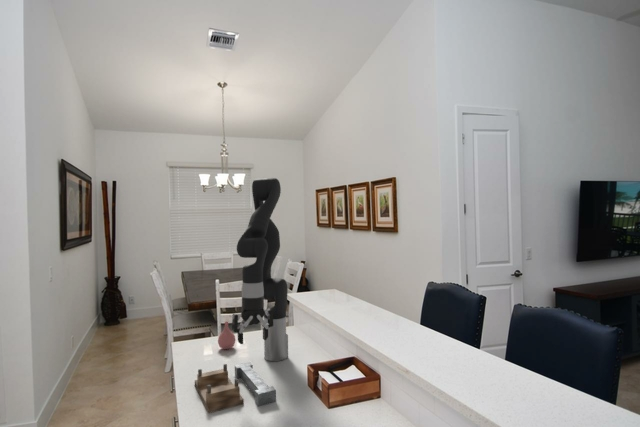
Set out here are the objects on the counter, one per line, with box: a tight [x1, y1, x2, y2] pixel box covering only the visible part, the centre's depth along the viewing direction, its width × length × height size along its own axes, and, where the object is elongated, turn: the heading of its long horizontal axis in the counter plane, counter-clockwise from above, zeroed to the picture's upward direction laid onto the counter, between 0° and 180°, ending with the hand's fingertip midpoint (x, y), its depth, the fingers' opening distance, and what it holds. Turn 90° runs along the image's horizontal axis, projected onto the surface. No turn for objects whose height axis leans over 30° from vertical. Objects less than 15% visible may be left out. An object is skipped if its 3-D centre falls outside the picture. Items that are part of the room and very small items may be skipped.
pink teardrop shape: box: [217, 321, 236, 350], centre depth 170 cm, size 8×8×12 cm
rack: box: [194, 363, 245, 414], centre depth 127 cm, size 11×22×6 cm, turn 29°
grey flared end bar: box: [234, 362, 277, 408], centre depth 132 cm, size 6×26×4 cm, turn 29°
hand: (253, 341), depth 131 cm, fingers open, 8 cm apart
